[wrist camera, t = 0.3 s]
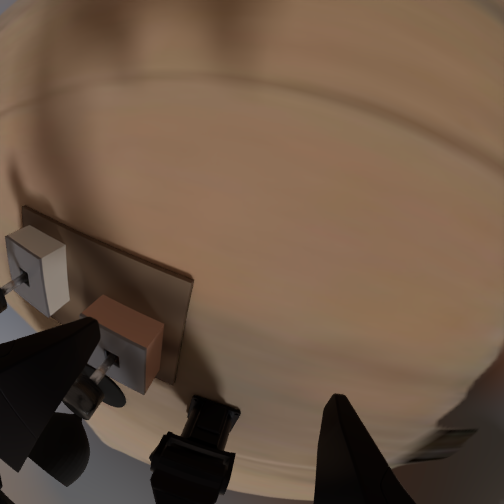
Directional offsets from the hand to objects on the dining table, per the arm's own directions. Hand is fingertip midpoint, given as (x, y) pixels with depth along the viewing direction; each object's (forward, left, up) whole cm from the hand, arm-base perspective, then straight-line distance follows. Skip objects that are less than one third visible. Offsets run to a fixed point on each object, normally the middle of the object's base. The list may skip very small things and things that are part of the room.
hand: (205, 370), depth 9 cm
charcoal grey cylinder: (-16, +11, -9) cm, 21 cm away
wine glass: (-34, +18, -14) cm, 41 cm away
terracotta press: (-16, +11, -14) cm, 24 cm away
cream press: (-12, +25, -14) cm, 31 cm away
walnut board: (-14, +18, -14) cm, 27 cm away
